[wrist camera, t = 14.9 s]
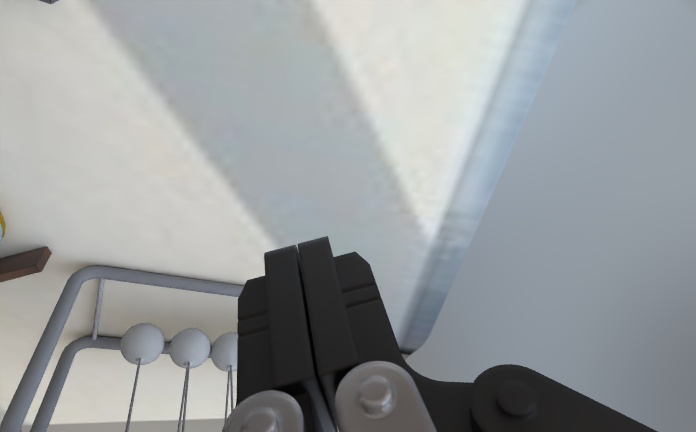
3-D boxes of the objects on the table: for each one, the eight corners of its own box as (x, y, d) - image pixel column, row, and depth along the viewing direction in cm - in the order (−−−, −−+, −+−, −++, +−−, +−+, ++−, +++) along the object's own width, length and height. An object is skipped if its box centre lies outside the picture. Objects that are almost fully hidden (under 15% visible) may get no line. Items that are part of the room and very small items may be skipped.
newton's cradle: (68, 339, 45) (-13, 540, 31) (75, 259, 40) (-17, 455, 26) (344, 363, 56) (379, 523, 41) (376, 303, 51) (429, 460, 36)
